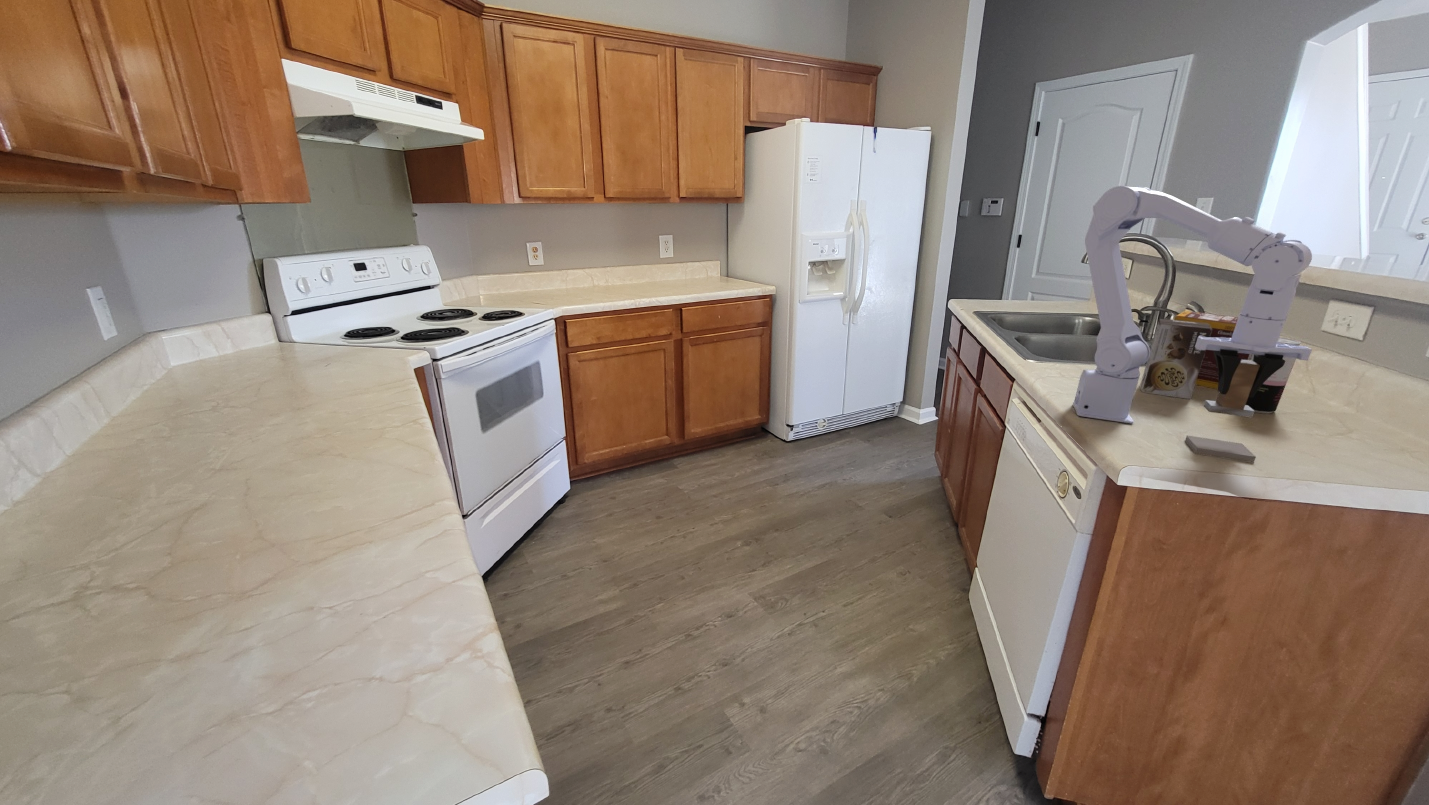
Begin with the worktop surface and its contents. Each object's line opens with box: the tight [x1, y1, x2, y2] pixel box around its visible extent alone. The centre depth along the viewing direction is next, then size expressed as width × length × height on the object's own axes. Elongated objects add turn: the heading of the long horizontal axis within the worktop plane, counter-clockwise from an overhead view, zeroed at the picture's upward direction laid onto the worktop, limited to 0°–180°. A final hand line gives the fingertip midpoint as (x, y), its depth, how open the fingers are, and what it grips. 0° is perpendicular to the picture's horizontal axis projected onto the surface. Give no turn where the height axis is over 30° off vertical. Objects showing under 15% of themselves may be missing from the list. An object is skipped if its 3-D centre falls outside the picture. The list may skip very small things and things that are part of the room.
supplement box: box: [1173, 310, 1252, 390], centre depth 137 cm, size 10×15×16 cm
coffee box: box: [1139, 318, 1212, 400], centre depth 128 cm, size 9×6×16 cm
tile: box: [1184, 435, 1257, 463], centre depth 100 cm, size 8×2×6 cm
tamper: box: [1203, 359, 1260, 418], centre depth 99 cm, size 6×3×9 cm, turn 66°
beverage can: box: [1245, 336, 1302, 414], centre depth 119 cm, size 6×6×15 cm
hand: (1234, 394), depth 99 cm, fingers closed on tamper, 3 cm apart
